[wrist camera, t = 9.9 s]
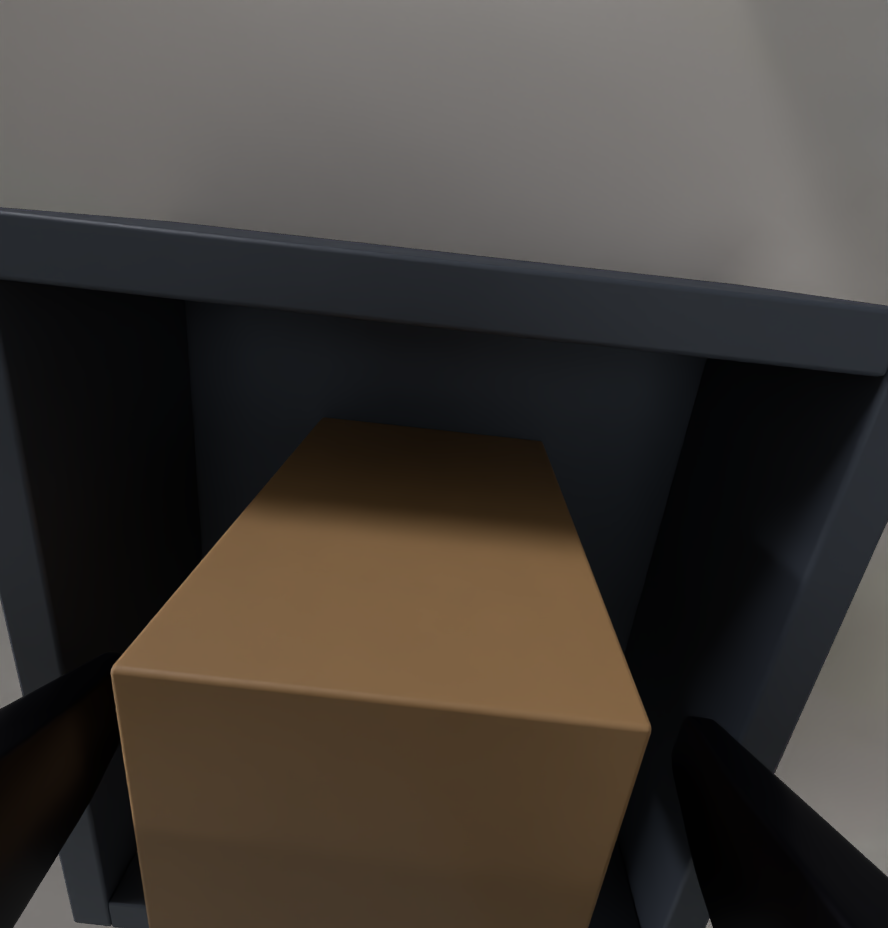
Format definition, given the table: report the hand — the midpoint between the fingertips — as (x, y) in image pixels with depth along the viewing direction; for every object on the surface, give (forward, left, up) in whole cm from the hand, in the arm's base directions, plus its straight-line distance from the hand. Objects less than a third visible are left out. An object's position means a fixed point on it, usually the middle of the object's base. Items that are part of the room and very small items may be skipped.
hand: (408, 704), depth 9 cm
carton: (0, 0, -5) cm, 5 cm away
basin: (0, 0, -6) cm, 6 cm away
